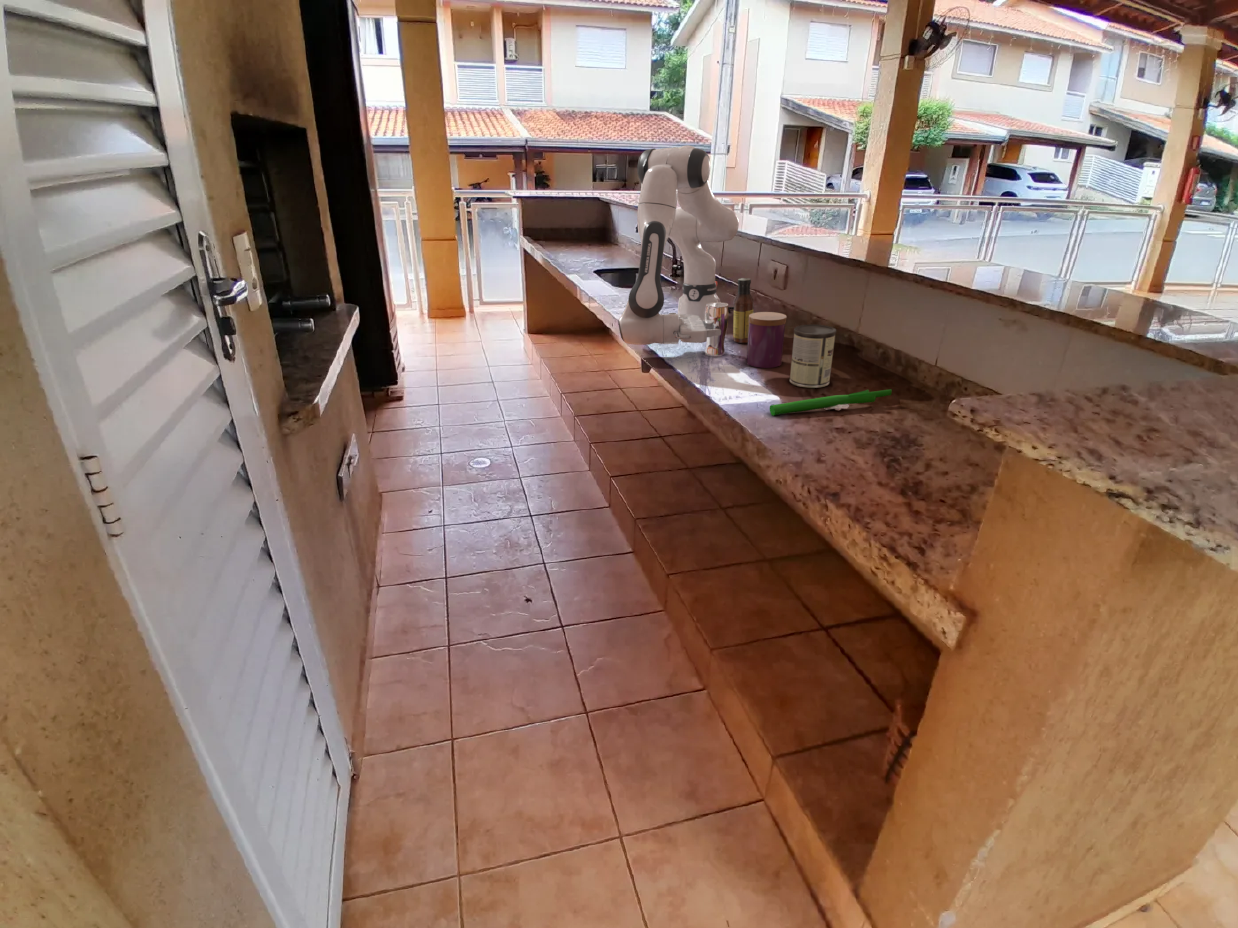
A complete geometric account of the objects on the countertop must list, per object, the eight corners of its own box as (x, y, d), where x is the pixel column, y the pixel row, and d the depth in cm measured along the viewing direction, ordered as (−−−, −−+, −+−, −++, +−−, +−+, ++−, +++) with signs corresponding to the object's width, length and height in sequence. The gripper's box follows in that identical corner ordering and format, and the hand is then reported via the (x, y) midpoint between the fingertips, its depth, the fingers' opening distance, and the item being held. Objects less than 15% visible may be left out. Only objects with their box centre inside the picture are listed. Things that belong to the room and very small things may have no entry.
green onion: (775, 421, 141) (895, 403, 145) (775, 408, 139) (897, 390, 143) (766, 414, 145) (883, 396, 149) (767, 401, 143) (885, 383, 147)
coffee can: (790, 374, 168) (795, 323, 162) (830, 377, 165) (836, 325, 159) (787, 386, 160) (792, 332, 153) (828, 389, 157) (835, 335, 150)
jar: (750, 356, 185) (753, 311, 179) (785, 359, 181) (790, 313, 175) (741, 365, 177) (744, 318, 171) (777, 369, 173) (782, 321, 167)
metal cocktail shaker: (701, 351, 191) (703, 302, 185) (723, 350, 192) (725, 301, 185) (706, 357, 185) (708, 307, 178) (728, 356, 185) (731, 306, 179)
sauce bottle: (751, 339, 203) (755, 277, 194) (753, 344, 197) (757, 280, 189) (731, 339, 204) (734, 277, 195) (732, 344, 198) (736, 280, 189)
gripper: (675, 327, 174) (724, 325, 174) (670, 311, 193) (714, 310, 192) (675, 348, 177) (723, 347, 177) (669, 331, 195) (713, 330, 195)
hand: (718, 328), depth 185 cm, fingers open, 8 cm apart
